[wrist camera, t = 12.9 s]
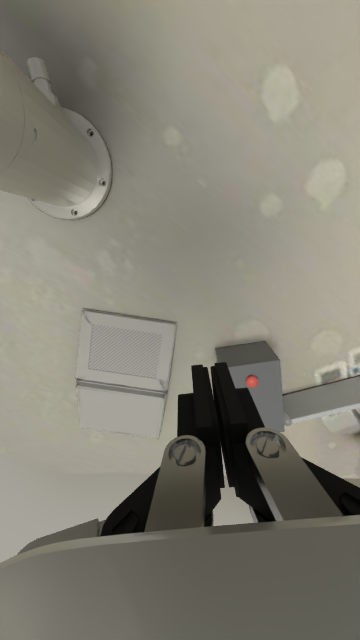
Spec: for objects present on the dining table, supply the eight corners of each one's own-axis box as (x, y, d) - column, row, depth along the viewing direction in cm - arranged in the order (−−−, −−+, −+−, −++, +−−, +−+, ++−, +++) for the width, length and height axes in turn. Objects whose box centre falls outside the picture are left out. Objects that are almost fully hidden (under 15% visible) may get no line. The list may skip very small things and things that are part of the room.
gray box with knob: (215, 348, 39) (220, 370, 32) (265, 340, 38) (281, 362, 32) (225, 418, 43) (232, 451, 37) (271, 413, 43) (286, 445, 36)
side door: (392, 366, 39) (424, 386, 33) (393, 375, 39) (425, 395, 34) (271, 397, 41) (283, 420, 36) (273, 405, 42) (285, 428, 36)
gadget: (160, 433, 46) (158, 450, 42) (82, 422, 46) (73, 437, 42) (177, 321, 39) (176, 328, 35) (84, 307, 38) (74, 313, 35)
